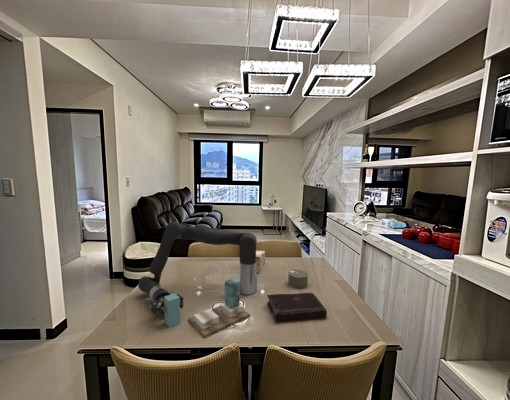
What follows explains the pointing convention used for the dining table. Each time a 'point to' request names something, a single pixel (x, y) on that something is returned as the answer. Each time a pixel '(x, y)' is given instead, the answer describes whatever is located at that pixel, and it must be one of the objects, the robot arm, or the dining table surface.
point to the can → (297, 278)
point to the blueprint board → (221, 312)
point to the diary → (295, 307)
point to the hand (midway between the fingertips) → (172, 309)
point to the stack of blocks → (260, 261)
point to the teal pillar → (172, 309)
